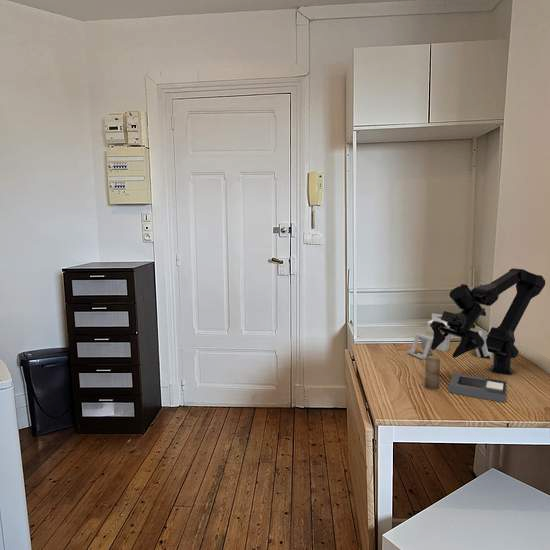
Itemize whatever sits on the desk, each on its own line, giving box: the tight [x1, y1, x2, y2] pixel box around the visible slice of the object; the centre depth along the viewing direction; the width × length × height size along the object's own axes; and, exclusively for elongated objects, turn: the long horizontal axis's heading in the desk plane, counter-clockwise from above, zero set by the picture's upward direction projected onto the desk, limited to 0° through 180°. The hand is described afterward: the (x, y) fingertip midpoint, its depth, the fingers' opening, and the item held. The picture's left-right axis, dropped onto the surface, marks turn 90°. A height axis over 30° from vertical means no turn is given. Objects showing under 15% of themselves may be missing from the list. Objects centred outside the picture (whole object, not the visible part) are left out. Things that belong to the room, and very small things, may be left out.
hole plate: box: [448, 372, 507, 403], centre depth 135 cm, size 12×16×3 cm
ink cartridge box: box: [426, 312, 451, 352], centre depth 179 cm, size 9×5×15 cm, turn 47°
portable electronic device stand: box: [406, 332, 434, 361], centre depth 170 cm, size 9×8×8 cm
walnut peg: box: [424, 355, 441, 390], centre depth 139 cm, size 4×4×10 cm
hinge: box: [474, 329, 493, 360], centre depth 174 cm, size 17×5×10 cm, turn 151°
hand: (442, 353), depth 139 cm, fingers open, 9 cm apart
